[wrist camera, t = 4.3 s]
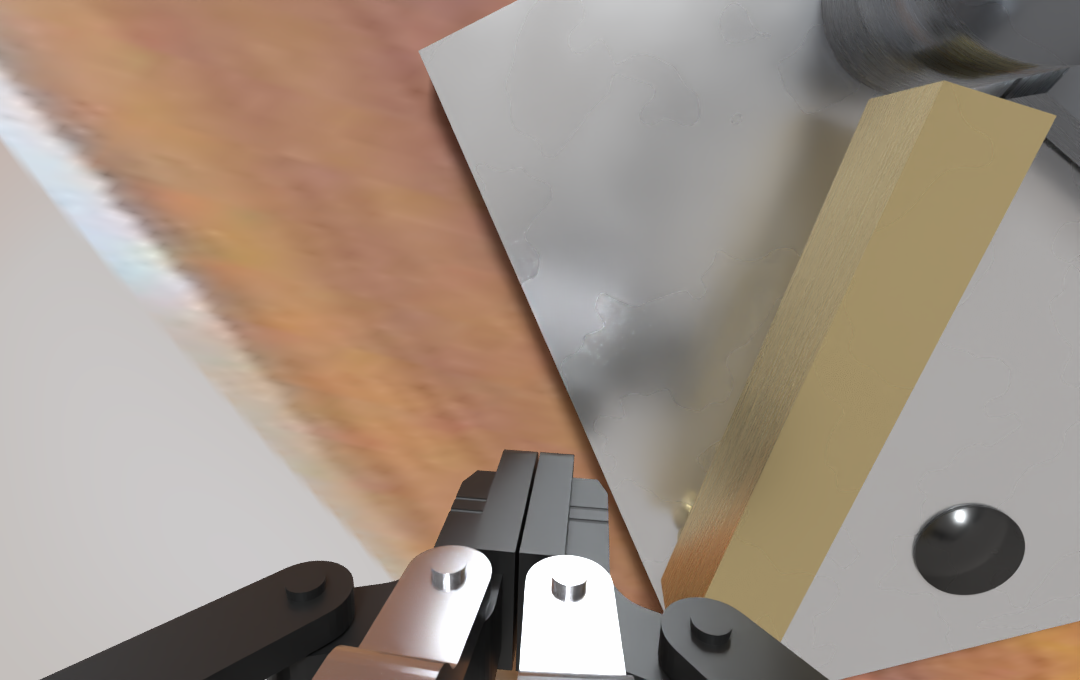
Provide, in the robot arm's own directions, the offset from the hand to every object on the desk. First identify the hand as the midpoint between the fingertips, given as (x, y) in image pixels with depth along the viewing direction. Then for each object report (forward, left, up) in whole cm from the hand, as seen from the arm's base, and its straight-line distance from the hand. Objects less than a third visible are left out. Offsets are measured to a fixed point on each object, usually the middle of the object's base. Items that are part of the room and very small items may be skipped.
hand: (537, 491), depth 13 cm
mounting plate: (-10, 0, -3) cm, 10 cm away
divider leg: (-6, 0, -2) cm, 6 cm away
